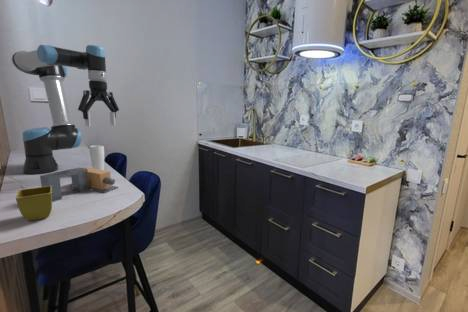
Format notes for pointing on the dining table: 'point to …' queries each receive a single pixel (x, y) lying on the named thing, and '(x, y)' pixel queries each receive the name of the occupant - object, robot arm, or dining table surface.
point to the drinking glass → (97, 156)
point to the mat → (103, 189)
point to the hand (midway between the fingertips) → (101, 125)
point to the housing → (77, 175)
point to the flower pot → (35, 202)
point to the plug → (99, 178)
